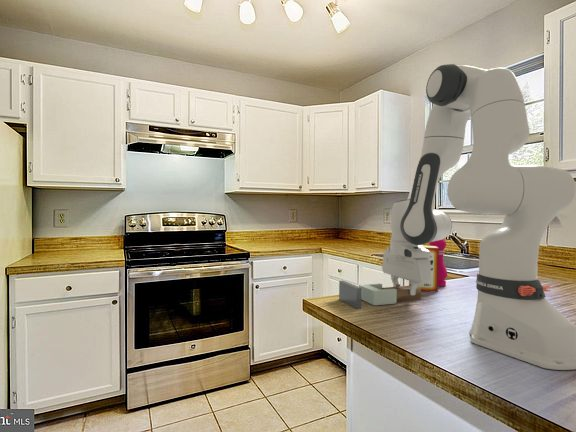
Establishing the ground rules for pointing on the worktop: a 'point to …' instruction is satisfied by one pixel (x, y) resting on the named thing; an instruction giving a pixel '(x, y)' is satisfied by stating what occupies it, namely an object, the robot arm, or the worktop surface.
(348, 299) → the grey upright slab
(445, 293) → the worktop surface
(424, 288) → the baking soda box
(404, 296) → the brown wooden block
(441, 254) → the pepper mill
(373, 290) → the block
